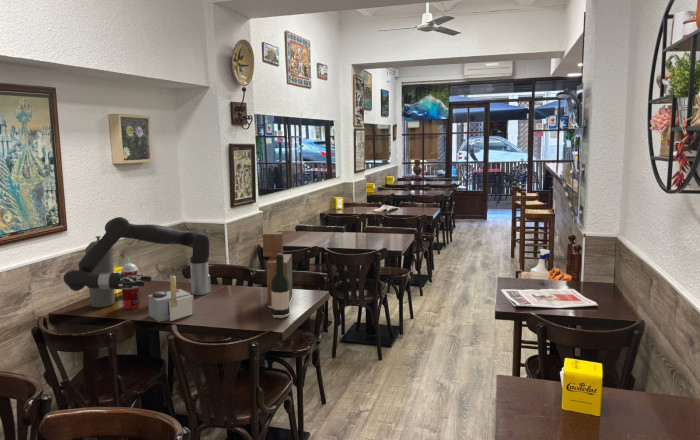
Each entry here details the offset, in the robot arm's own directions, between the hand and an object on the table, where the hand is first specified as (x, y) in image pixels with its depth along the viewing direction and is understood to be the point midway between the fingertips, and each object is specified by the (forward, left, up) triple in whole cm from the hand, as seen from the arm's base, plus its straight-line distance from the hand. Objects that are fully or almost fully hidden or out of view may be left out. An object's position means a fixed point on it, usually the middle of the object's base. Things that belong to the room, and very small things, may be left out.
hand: (147, 281), depth 236 cm
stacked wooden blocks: (-61, +16, -19) cm, 66 cm away
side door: (-13, +7, -18) cm, 24 cm away
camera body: (-11, -2, -19) cm, 22 cm away
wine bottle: (-49, +34, -19) cm, 63 cm away
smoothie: (-10, -48, -19) cm, 52 cm away
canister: (+7, -40, -19) cm, 44 cm away
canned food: (-2, -26, -19) cm, 32 cm away
